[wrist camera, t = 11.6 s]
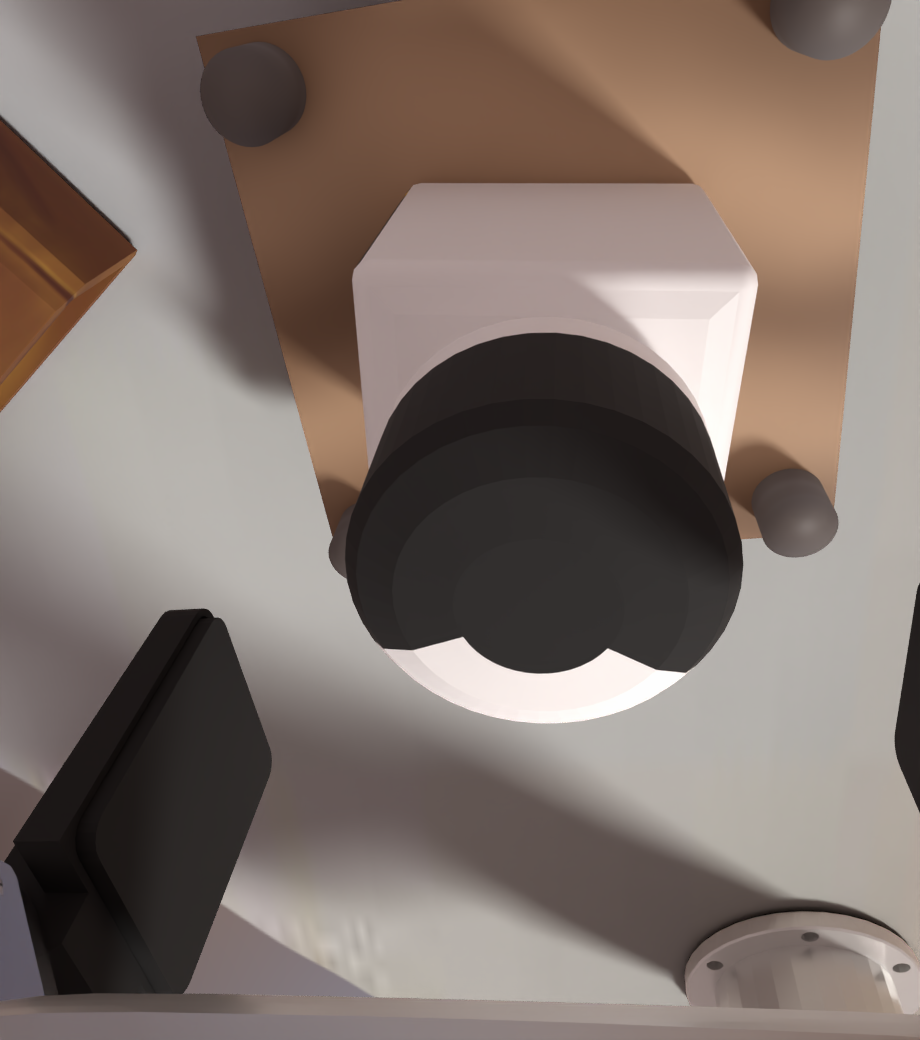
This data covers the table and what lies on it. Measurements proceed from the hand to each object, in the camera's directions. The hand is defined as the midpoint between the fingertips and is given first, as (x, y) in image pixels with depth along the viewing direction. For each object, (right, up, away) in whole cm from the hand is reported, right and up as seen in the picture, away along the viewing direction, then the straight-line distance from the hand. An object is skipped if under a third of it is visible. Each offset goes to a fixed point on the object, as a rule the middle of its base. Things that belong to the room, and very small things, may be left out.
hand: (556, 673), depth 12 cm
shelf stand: (+2, +11, +16) cm, 20 cm away
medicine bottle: (+1, +7, +11) cm, 13 cm away
